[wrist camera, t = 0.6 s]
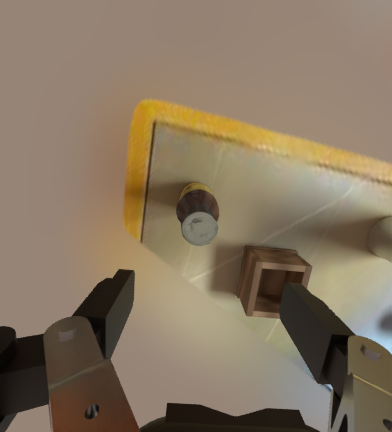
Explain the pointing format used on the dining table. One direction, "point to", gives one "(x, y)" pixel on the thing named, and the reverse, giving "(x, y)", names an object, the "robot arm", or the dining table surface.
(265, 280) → the bottle caddy
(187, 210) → the sauce bottle
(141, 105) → the dining table surface
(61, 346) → the robot arm
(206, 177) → the dining table surface
